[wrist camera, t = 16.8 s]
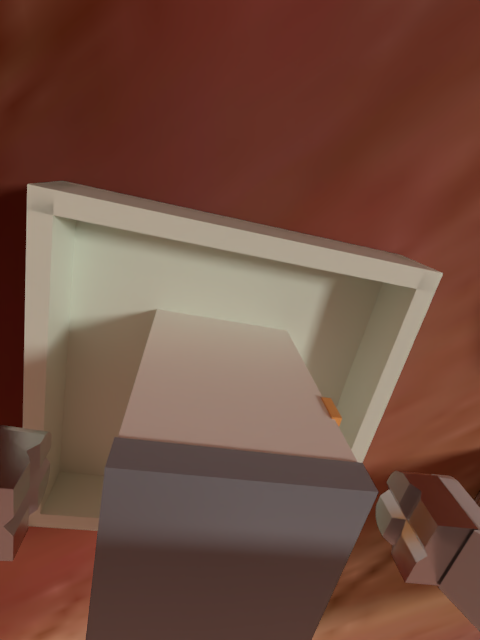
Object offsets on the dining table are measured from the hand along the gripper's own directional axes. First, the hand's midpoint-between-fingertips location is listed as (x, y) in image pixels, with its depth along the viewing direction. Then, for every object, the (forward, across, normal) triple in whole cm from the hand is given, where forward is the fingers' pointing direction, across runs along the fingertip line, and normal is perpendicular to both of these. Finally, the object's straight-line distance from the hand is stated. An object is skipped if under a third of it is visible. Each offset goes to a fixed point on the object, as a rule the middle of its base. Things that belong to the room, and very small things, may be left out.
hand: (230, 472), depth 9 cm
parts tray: (+6, 0, 0) cm, 6 cm away
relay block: (+5, 0, 0) cm, 5 cm away
